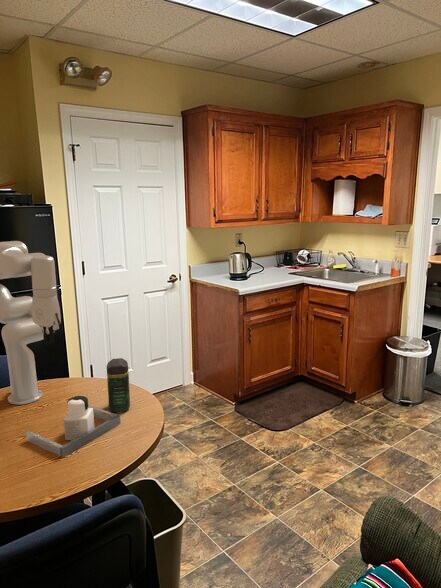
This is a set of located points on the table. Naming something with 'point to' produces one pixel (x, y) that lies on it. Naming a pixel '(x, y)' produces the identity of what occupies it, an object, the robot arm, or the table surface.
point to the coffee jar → (118, 385)
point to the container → (78, 418)
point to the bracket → (73, 445)
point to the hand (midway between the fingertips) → (49, 343)
